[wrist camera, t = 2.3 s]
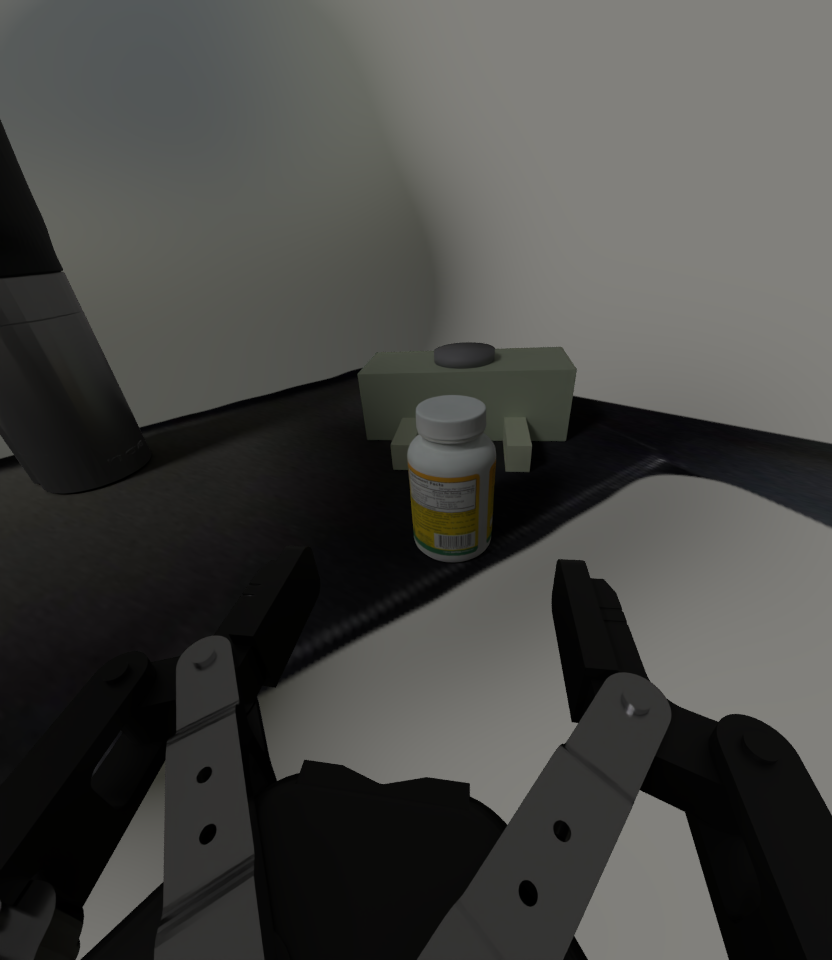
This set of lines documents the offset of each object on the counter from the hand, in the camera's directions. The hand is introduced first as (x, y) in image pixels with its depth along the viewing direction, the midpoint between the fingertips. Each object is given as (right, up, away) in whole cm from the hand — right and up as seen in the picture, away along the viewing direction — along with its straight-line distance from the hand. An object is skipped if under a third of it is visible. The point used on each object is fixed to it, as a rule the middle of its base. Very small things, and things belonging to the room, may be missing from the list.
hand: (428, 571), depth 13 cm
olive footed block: (+5, +8, +28) cm, 29 cm away
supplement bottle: (+2, -1, +14) cm, 15 cm away
